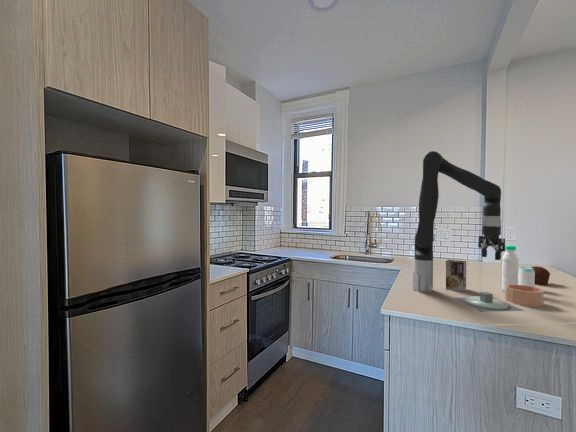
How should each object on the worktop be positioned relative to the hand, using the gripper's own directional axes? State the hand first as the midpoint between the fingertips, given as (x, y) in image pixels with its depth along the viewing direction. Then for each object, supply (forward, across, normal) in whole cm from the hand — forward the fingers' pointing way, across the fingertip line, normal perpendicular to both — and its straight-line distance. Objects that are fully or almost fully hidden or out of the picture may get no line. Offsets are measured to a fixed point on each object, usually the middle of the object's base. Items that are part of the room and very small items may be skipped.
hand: (490, 258), depth 144 cm
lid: (+20, +6, -7) cm, 22 cm away
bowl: (+20, +5, +13) cm, 25 cm away
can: (+21, -17, +36) cm, 45 cm away
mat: (+21, +6, -7) cm, 23 cm away
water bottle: (+21, -14, +23) cm, 34 cm away
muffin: (+21, -29, +54) cm, 65 cm away
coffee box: (+21, -20, -4) cm, 29 cm away
